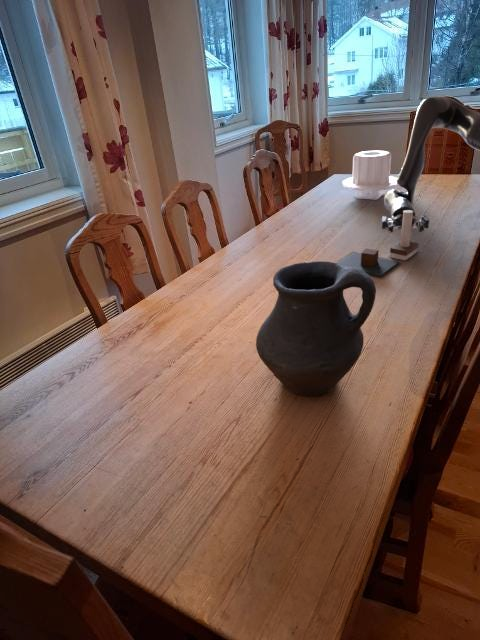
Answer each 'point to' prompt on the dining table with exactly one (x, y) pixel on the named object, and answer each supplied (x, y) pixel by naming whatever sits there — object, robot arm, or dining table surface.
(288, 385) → the pitcher
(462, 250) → the dining table surface
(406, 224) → the tall white pillar
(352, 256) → the mat
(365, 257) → the brown cube
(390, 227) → the robot arm
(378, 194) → the flanged gear
